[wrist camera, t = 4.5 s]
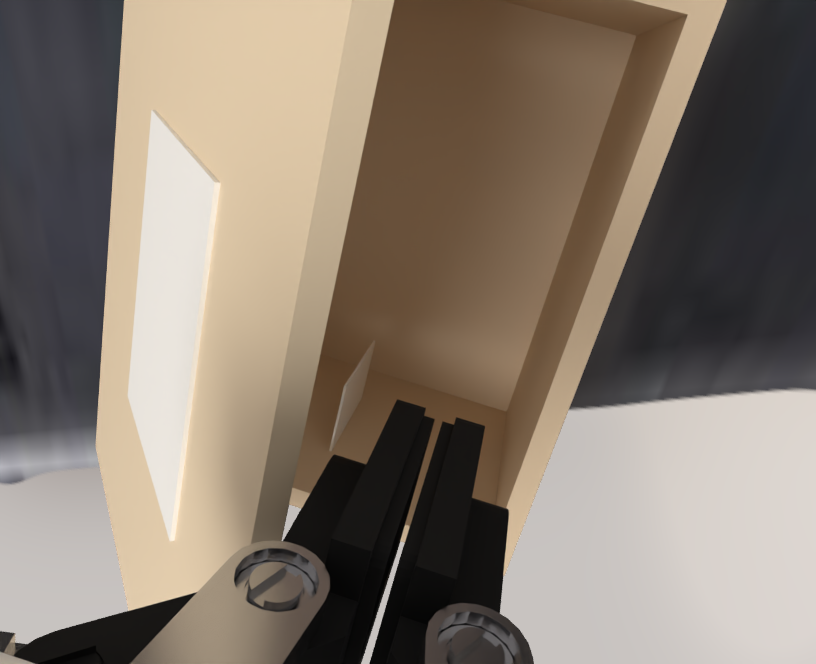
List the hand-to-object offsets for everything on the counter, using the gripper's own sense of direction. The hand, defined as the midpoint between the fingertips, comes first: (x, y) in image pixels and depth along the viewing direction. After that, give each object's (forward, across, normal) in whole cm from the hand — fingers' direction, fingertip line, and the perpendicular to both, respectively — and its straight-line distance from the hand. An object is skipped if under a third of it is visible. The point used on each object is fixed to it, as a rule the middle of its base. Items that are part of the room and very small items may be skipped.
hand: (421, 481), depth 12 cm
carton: (+22, +4, +2) cm, 23 cm away
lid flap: (+4, +7, 0) cm, 8 cm away
